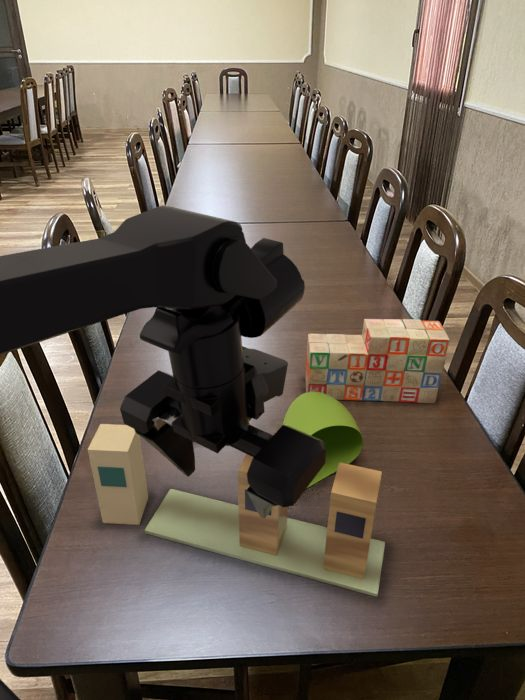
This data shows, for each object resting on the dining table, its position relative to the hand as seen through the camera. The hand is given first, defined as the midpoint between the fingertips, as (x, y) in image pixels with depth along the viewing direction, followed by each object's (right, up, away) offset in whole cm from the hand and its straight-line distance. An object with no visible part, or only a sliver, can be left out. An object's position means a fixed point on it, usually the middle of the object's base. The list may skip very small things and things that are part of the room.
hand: (226, 492), depth 52 cm
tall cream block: (-14, -7, +16) cm, 23 cm away
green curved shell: (+11, -1, +26) cm, 28 cm away
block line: (+4, -9, +13) cm, 16 cm away
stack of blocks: (+21, +7, +39) cm, 45 cm away
